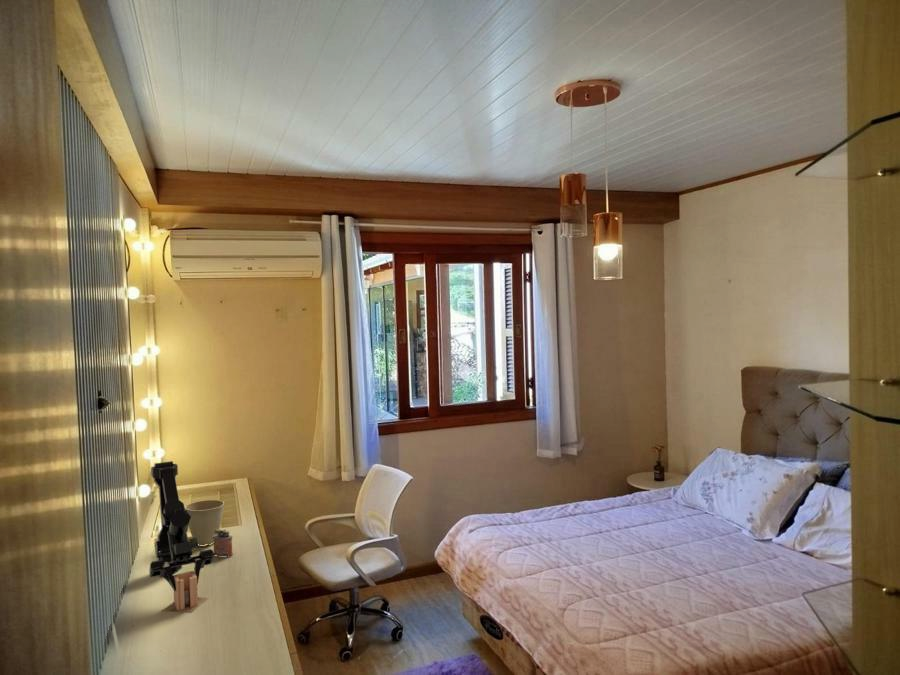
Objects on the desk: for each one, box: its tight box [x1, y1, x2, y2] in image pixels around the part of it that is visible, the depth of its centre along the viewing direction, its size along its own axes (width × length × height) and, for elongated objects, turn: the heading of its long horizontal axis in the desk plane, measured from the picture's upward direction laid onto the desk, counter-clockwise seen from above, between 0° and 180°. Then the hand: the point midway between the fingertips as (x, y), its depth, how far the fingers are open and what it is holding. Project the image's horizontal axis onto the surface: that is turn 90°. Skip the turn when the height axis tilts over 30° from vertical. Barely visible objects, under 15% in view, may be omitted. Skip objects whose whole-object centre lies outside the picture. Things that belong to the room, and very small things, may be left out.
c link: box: [173, 570, 199, 611], centre depth 192 cm, size 6×6×9 cm
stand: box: [161, 589, 210, 614], centre depth 192 cm, size 10×10×5 cm
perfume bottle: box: [213, 529, 234, 558], centre depth 235 cm, size 8×3×10 cm, turn 74°
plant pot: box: [184, 499, 225, 545], centre depth 248 cm, size 15×15×16 cm
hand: (186, 587), depth 191 cm, fingers closed on c link, 6 cm apart
